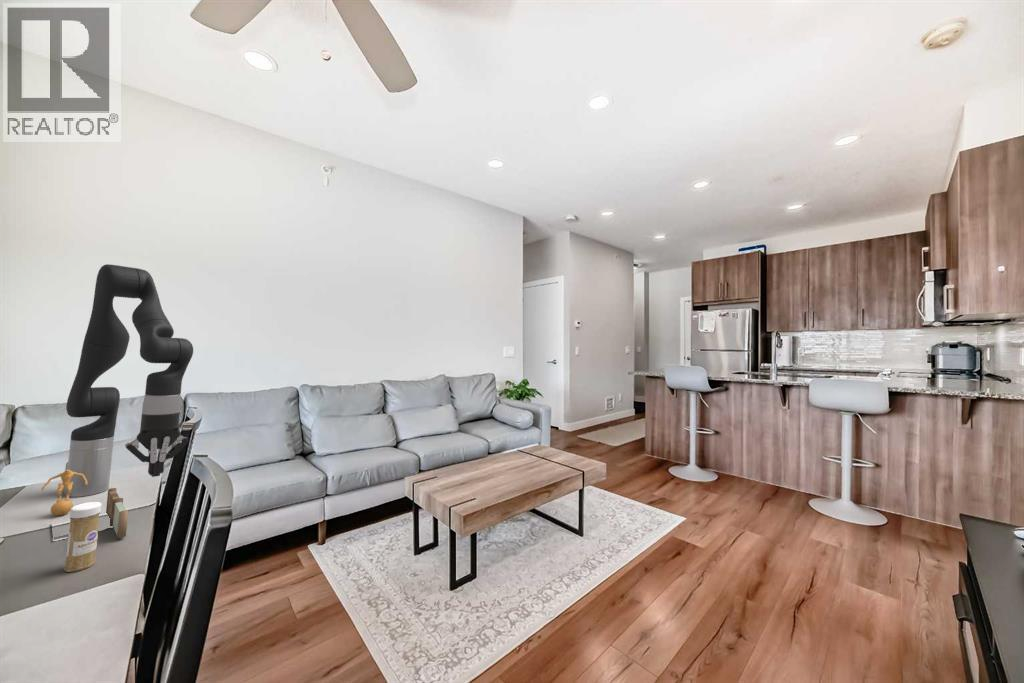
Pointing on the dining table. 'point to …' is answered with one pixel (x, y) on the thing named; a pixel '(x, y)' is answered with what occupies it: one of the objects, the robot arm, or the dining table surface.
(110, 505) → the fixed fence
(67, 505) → the figurine
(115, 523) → the swing panel
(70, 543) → the sprinkles bottle
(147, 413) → the robot arm
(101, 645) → the dining table surface
